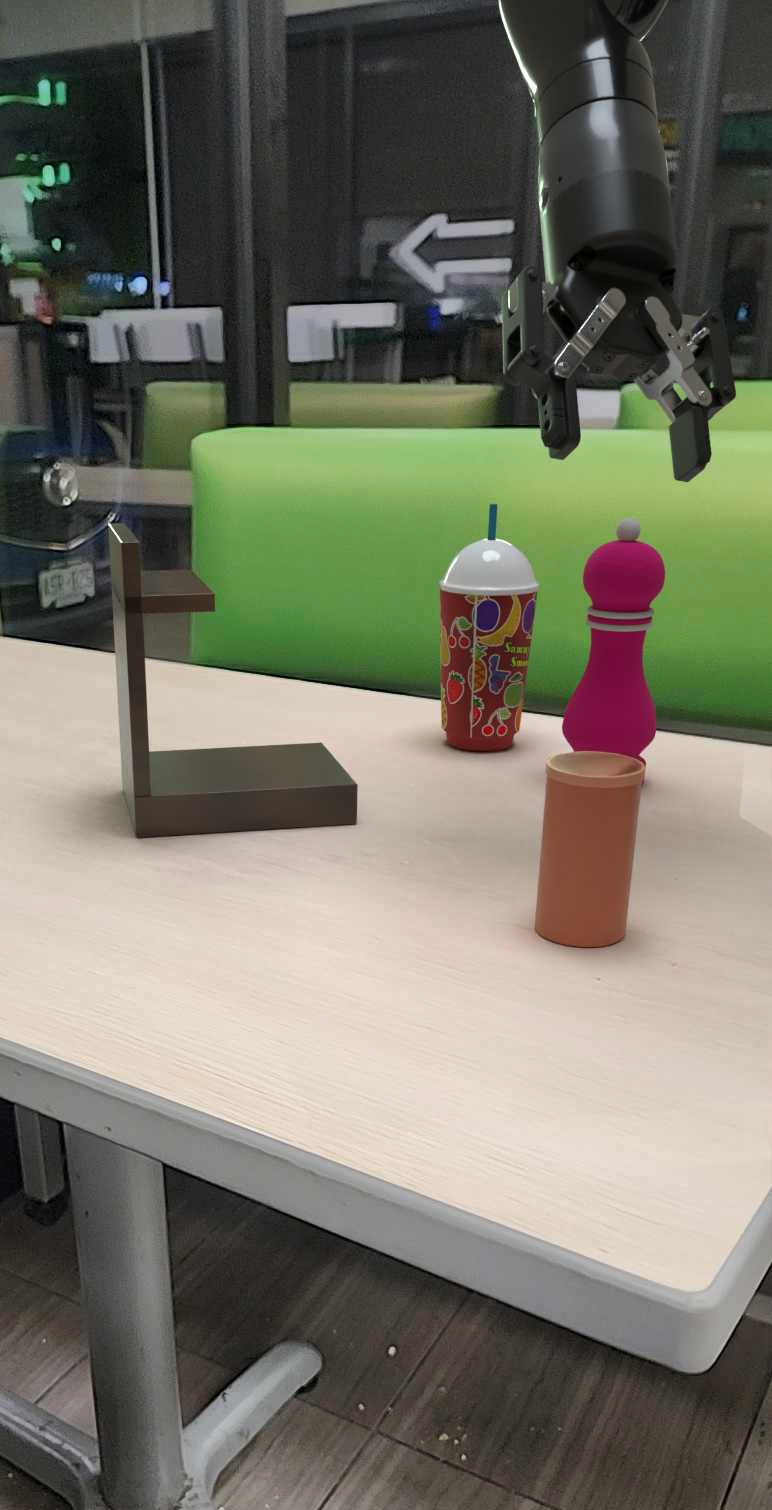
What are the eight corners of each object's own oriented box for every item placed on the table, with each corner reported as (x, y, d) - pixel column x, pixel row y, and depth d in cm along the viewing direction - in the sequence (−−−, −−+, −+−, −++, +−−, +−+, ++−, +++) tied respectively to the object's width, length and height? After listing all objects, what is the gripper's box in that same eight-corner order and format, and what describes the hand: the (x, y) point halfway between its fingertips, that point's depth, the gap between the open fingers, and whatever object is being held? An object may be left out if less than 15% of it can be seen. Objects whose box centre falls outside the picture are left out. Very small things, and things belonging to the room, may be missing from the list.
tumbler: (604, 909, 80) (620, 748, 76) (642, 944, 76) (662, 774, 72) (519, 916, 80) (531, 753, 75) (553, 951, 75) (567, 779, 71)
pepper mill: (646, 797, 102) (676, 524, 94) (551, 788, 104) (573, 521, 96) (653, 772, 108) (683, 514, 100) (564, 764, 110) (585, 512, 102)
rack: (321, 778, 107) (323, 518, 99) (357, 824, 96) (362, 535, 88) (122, 790, 104) (108, 523, 96) (136, 838, 93) (121, 542, 85)
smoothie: (524, 758, 112) (542, 509, 104) (426, 753, 114) (436, 508, 106) (530, 734, 120) (547, 500, 111) (437, 729, 121) (448, 499, 113)
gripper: (533, 137, 73) (558, 407, 70) (744, 194, 78) (775, 448, 75) (468, 230, 79) (488, 479, 77) (666, 277, 85) (691, 513, 82)
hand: (629, 464), depth 76 cm, fingers open, 8 cm apart
